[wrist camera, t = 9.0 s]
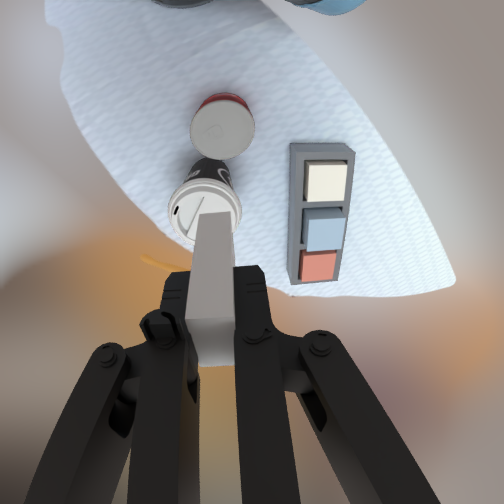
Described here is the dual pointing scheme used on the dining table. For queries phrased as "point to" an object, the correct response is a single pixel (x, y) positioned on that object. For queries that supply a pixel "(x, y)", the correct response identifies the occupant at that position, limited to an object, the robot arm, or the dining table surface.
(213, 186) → the coffee cup
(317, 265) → the key brick
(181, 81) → the dining table surface
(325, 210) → the key blue
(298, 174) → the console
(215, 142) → the canned food
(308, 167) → the key ivory
